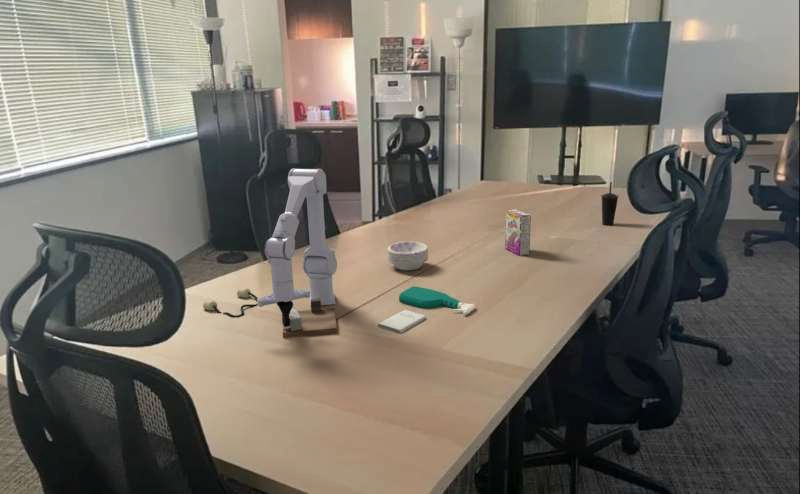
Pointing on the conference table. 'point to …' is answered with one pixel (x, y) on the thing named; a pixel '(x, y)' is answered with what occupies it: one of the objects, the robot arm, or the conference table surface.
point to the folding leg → (294, 320)
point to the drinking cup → (609, 207)
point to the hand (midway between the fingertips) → (286, 325)
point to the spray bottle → (432, 299)
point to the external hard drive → (402, 321)
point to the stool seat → (314, 321)
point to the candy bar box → (518, 232)
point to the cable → (241, 293)
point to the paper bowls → (407, 255)
